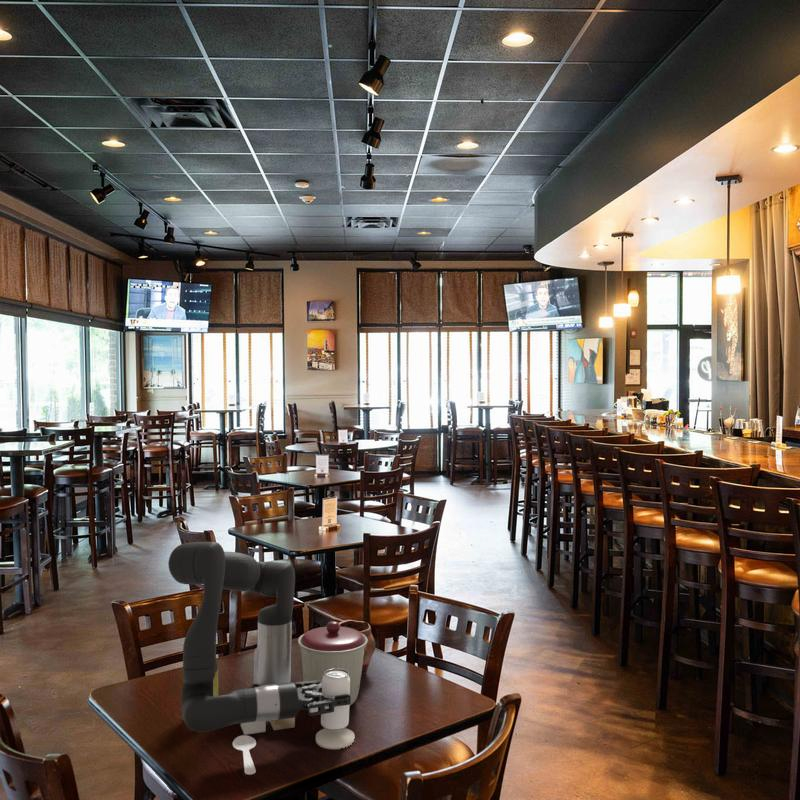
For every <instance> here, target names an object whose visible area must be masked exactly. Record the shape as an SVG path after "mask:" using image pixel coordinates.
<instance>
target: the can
mask: <svg viewBox="0 0 800 800" xmlns="http://www.w3.org/2000/svg"><path fill="white" fill-rule="evenodd" d="M324 674H325V675H324V677H323V679H322V693H324V694H325V695H327V696H336V695H344V694H349V695H350V678H349V676H348V674H349V673H348V671H346V670H344V669H329V670H327V671H325V672H324ZM325 709H329V708H325ZM349 723H350V706H349V705H343V706H336V707H335V708H334V712H331V713H326V714H320V724H321V727H322V728H323V729H325V728H326V729H329V730H341V729H344V728H347V727H348V726H349Z"/></svg>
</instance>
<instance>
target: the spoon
mask: <svg viewBox="0 0 800 800" xmlns="http://www.w3.org/2000/svg"><path fill="white" fill-rule="evenodd" d="M256 745H257V741H256V739H255V738H254V737H252V736H250V734H247V735H244V734H242V735H239V736H237V737H235V738H234V739H233V741H232V747H233V748H234V749H235V750H237V751H241V752H242V757H243V759H242V760H243V768H244V769H243V771H244V774H245V775H249V776H250V775H254V774H255V773H256V771H257V770H256V767H255V764H254V761H253V758H252V756H251V753H250V750H252V749H254V748H255V747H256Z"/></svg>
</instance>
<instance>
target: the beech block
mask: <svg viewBox="0 0 800 800" xmlns="http://www.w3.org/2000/svg"><path fill="white" fill-rule="evenodd" d="M269 723H270V725H271V727H272V730H273V731H279V730H284V729H285V730H286V729H291V728H295V726H296V717H294V718H287V719H280V720H272V721H269Z"/></svg>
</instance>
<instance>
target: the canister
mask: <svg viewBox="0 0 800 800" xmlns="http://www.w3.org/2000/svg"><path fill="white" fill-rule="evenodd" d="M339 623H340V622H337V621H333V620H331V621H329V622H328V623H327V624H326V626H320V627H316V628H313V629H311V630H308V631H306V632H305V633H303V634H302V635H300V636H299V637H298V638H297V644H298V646H299V647H300V656H301V668H302V678H303V680H302V681H316V680H319V681H321V683H322V679H323V677H324V675H325V674H324V672H325V671H327V670H329V669H344V670H346V671H348V673H349V674H348V676H349V678H350V696H351V701H350V704H349V707H351V705H353V704H354V703H355V702H356V700H357V699H358V696H359V692H360V691H359V690H360V684H361V677H362V675H361V672H362V665H363V657H364V649H365V645H366V644H367V642H368V639H367V637H366V636H365V635H364V634H362V633H360V632H359V631H357V630H354V629H351V628H347V627H340V625H339ZM320 701H321V698H320Z"/></svg>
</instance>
